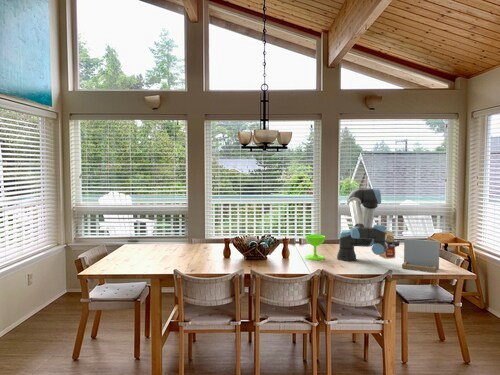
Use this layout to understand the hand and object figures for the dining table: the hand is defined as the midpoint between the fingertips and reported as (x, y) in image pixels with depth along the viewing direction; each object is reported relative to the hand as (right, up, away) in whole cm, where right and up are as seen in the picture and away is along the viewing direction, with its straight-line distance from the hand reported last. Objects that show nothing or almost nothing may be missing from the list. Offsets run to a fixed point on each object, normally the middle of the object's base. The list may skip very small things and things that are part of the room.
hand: (389, 241), depth 286 cm
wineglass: (-50, -18, +31) cm, 61 cm away
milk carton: (-3, -11, -3) cm, 12 cm away
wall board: (+22, -20, -1) cm, 29 cm away
